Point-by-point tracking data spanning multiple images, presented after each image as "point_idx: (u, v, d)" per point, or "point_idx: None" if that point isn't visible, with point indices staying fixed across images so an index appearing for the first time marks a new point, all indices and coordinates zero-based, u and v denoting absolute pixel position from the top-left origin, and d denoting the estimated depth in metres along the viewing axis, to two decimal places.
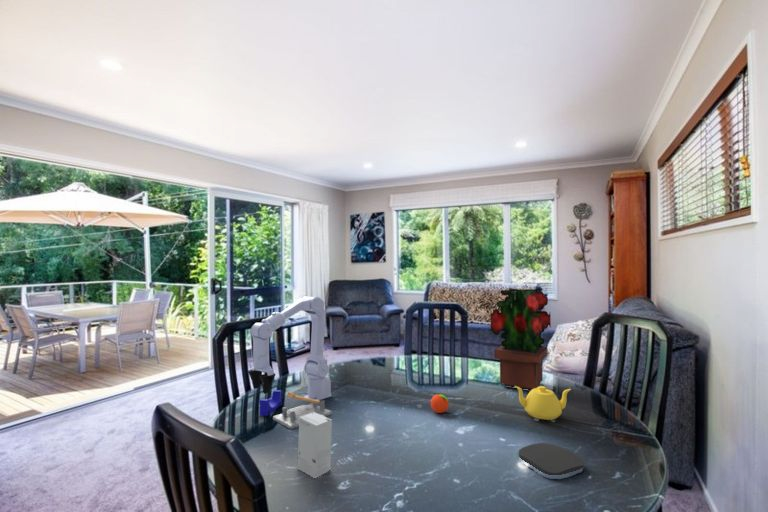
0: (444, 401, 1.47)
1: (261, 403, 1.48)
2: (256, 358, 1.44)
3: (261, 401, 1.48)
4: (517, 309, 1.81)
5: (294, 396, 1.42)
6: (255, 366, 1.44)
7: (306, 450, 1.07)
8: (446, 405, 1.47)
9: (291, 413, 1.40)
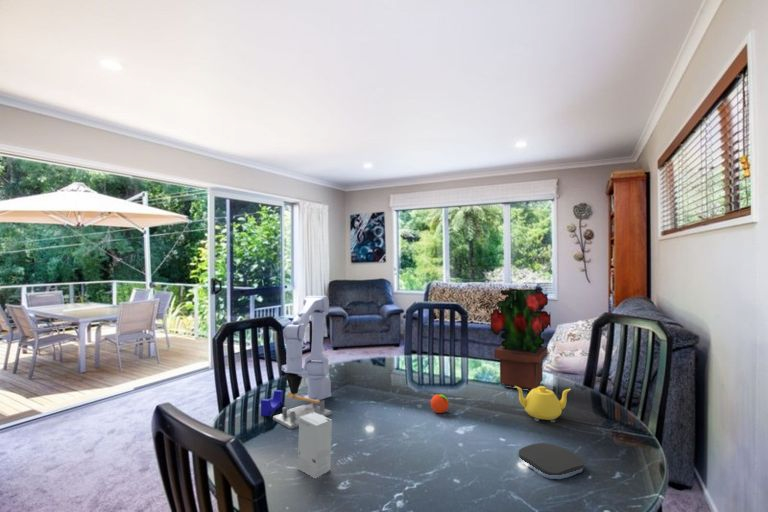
0: (444, 401, 1.47)
1: (262, 403, 1.48)
2: (290, 360, 1.41)
3: (262, 401, 1.48)
4: (517, 309, 1.81)
5: (294, 396, 1.42)
6: (288, 368, 1.42)
7: (306, 450, 1.07)
8: (446, 405, 1.47)
9: (291, 413, 1.40)
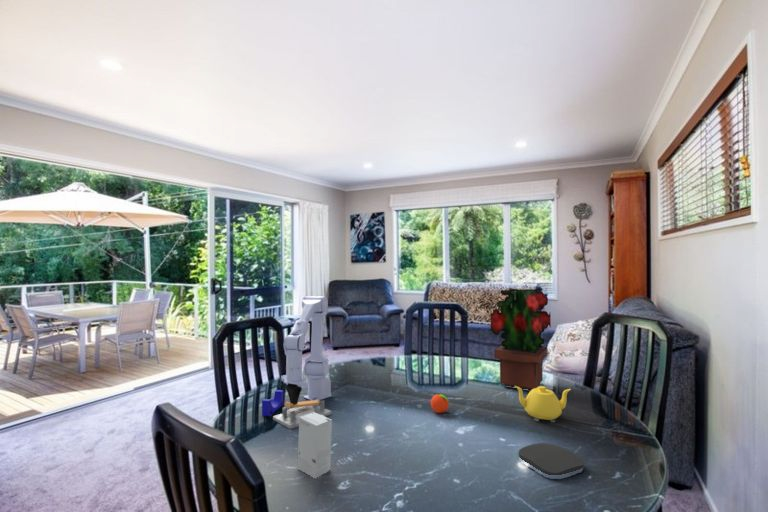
0: (444, 401, 1.47)
1: (263, 403, 1.48)
2: (289, 371, 1.41)
3: (263, 401, 1.48)
4: (517, 309, 1.81)
5: (292, 406, 1.41)
6: (288, 379, 1.41)
7: (306, 450, 1.07)
8: (446, 405, 1.47)
9: (291, 413, 1.40)
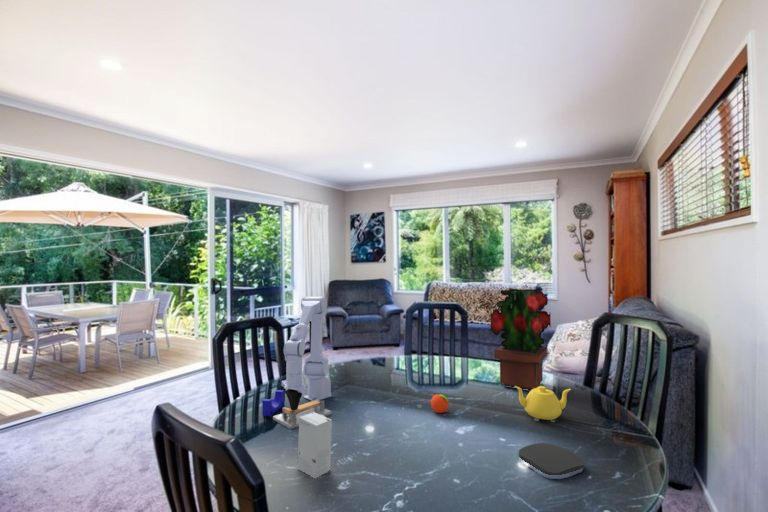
0: (444, 401, 1.47)
1: (264, 403, 1.48)
2: (290, 376, 1.41)
3: (264, 401, 1.48)
4: (517, 309, 1.81)
5: None
6: (288, 385, 1.41)
7: (306, 450, 1.07)
8: (446, 405, 1.47)
9: (291, 413, 1.40)
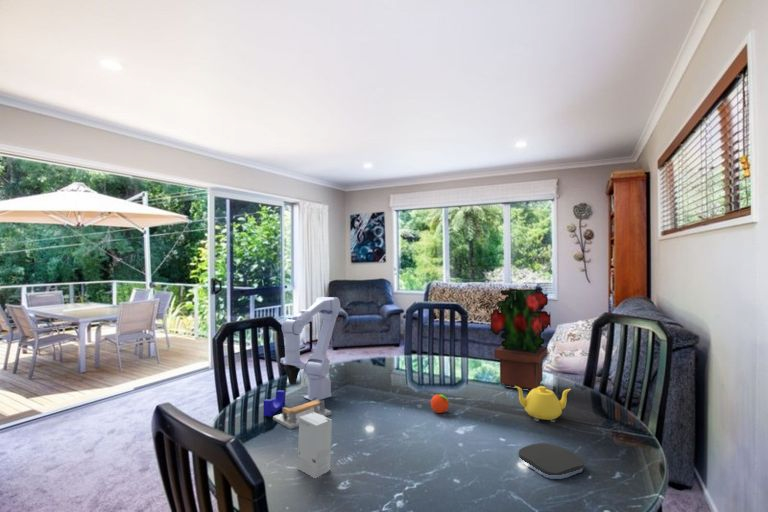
0: (444, 401, 1.47)
1: (265, 403, 1.48)
2: (288, 353, 1.51)
3: (265, 401, 1.48)
4: (517, 309, 1.81)
5: None
6: (287, 360, 1.51)
7: (306, 450, 1.07)
8: (446, 405, 1.47)
9: (291, 413, 1.40)
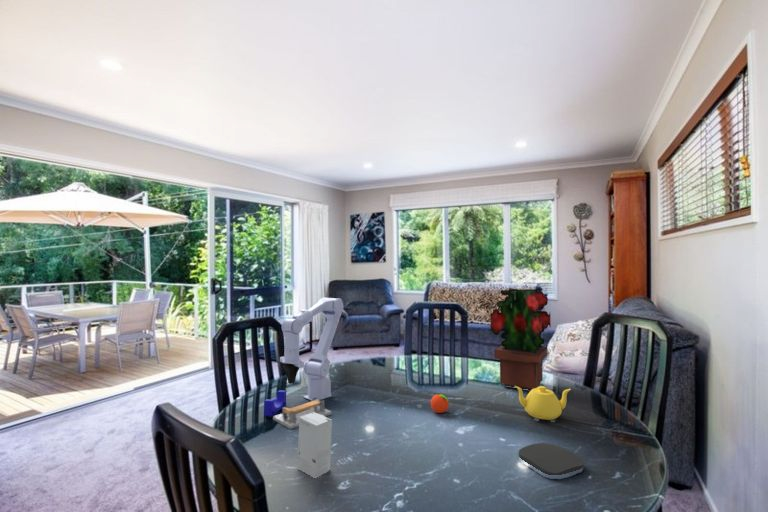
0: (444, 401, 1.47)
1: (266, 403, 1.48)
2: (287, 352, 1.52)
3: (266, 401, 1.48)
4: (517, 309, 1.81)
5: None
6: (286, 359, 1.52)
7: (306, 450, 1.07)
8: (446, 405, 1.47)
9: (291, 413, 1.40)
